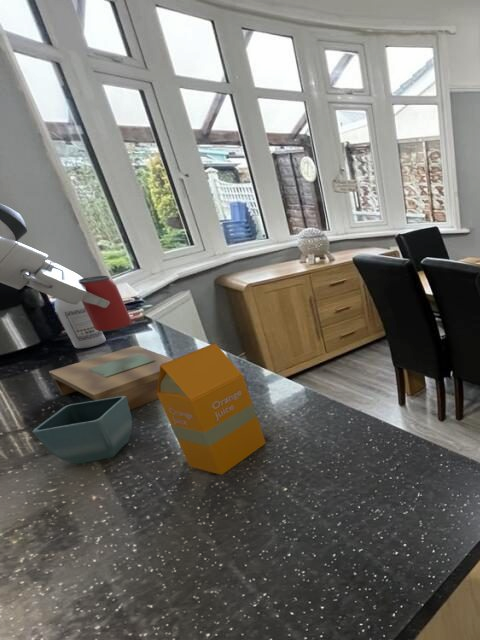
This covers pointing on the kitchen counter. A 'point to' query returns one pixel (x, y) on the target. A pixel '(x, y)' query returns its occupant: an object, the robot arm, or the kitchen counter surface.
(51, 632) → the kitchen counter surface
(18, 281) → the robot arm
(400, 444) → the kitchen counter surface
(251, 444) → the orange juice
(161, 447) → the kitchen counter surface
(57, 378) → the wooden slab
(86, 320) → the bath foam
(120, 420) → the flower pot
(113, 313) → the beer can
